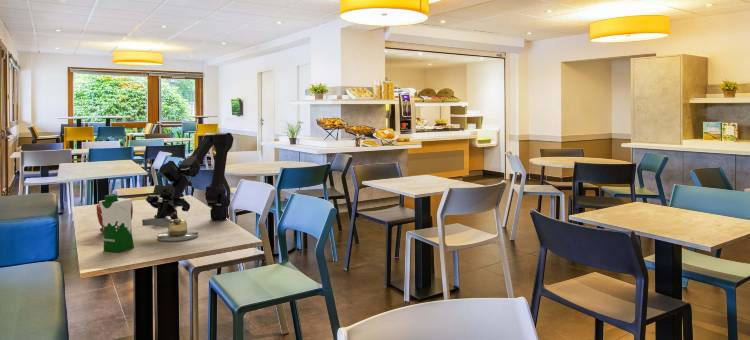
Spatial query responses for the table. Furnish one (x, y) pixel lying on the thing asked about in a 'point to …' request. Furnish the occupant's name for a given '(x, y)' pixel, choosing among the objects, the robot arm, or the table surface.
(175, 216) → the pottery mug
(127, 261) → the table surface
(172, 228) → the lever valve handle
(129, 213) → the milk carton
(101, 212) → the plant pot
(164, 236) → the spindle flange
